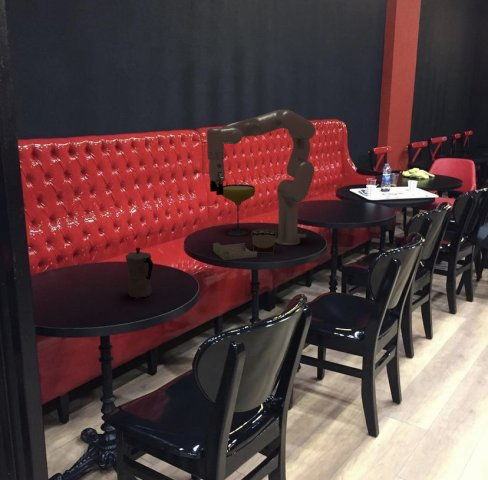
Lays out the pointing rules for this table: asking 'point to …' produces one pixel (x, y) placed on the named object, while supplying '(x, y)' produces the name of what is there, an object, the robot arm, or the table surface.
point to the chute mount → (233, 251)
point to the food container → (263, 240)
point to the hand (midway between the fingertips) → (216, 193)
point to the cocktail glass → (238, 200)
